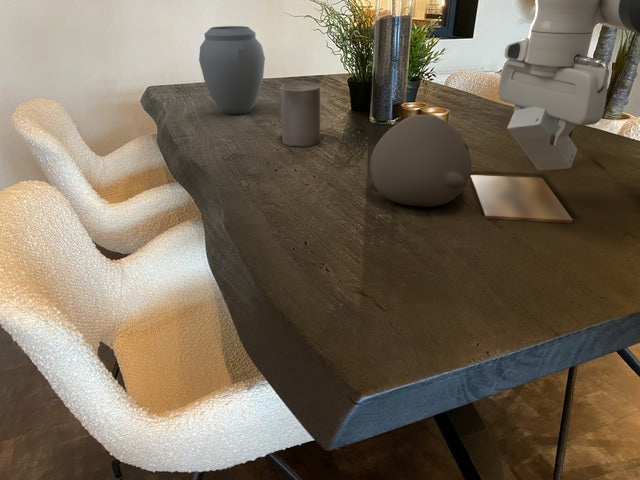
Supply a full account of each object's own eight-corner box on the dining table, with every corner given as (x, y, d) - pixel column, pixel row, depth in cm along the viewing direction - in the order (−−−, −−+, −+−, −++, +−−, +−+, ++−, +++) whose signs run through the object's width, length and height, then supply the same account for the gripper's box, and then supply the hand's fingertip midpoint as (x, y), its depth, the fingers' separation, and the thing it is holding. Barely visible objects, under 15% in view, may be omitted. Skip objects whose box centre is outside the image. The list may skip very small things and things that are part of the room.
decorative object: (366, 178, 100) (369, 104, 93) (454, 178, 100) (464, 103, 93) (373, 215, 84) (377, 129, 77) (478, 215, 84) (492, 129, 77)
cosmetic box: (578, 149, 84) (549, 102, 78) (571, 169, 83) (540, 124, 76) (544, 152, 89) (514, 109, 82) (537, 171, 88) (505, 129, 81)
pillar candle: (307, 134, 130) (306, 75, 123) (328, 143, 122) (328, 81, 115) (275, 140, 125) (272, 79, 118) (294, 149, 118) (292, 85, 111)
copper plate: (541, 180, 98) (542, 177, 98) (572, 223, 81) (573, 220, 81) (470, 177, 100) (470, 174, 100) (485, 218, 83) (485, 215, 82)
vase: (275, 106, 160) (271, 25, 148) (255, 120, 143) (249, 30, 132) (220, 103, 164) (212, 24, 152) (194, 117, 147) (183, 29, 136)
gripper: (629, 59, 68) (602, 155, 74) (529, 44, 85) (514, 123, 92) (593, 61, 66) (569, 159, 73) (498, 45, 83) (486, 126, 90)
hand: (538, 138), depth 82 cm, fingers closed on cosmetic box, 7 cm apart
